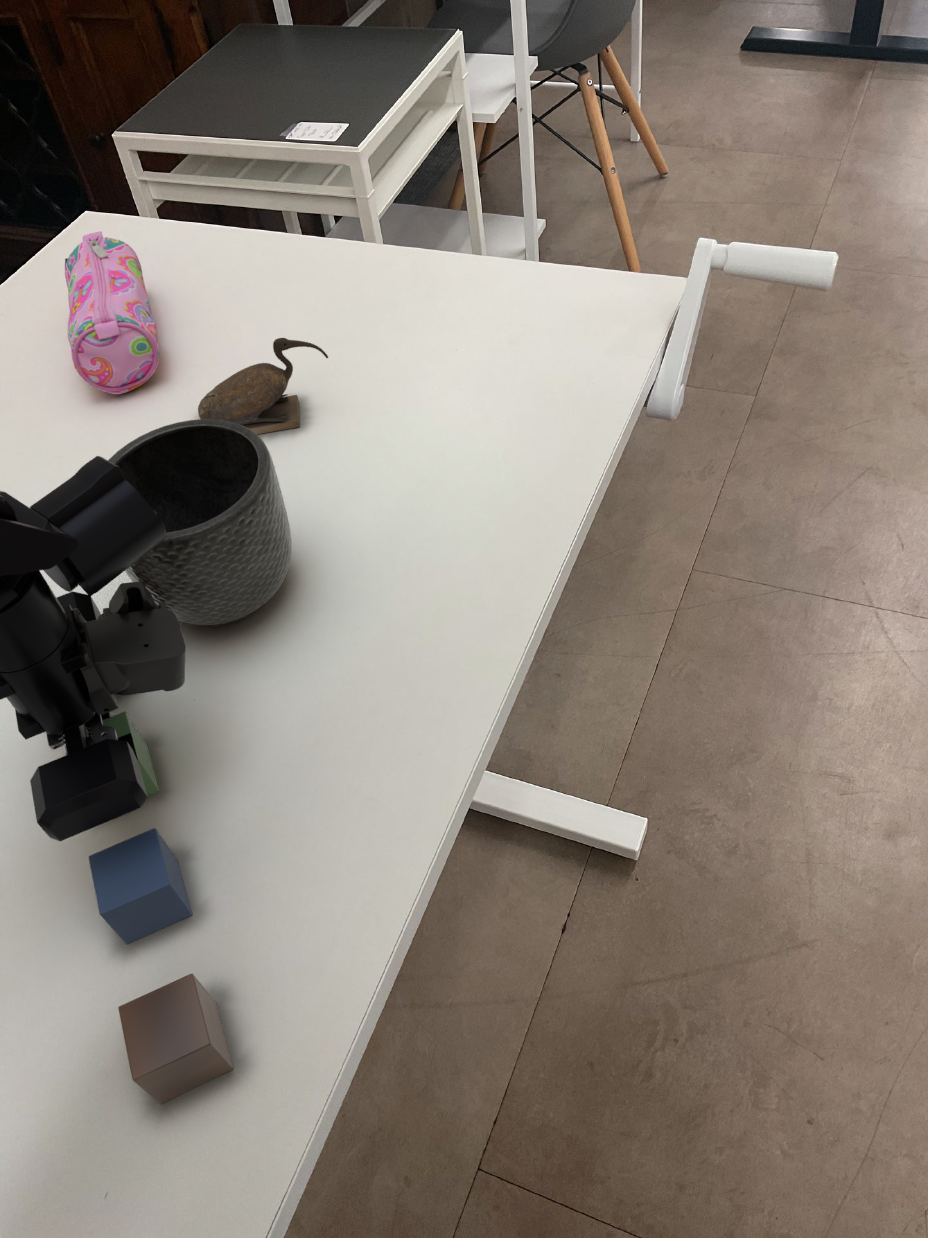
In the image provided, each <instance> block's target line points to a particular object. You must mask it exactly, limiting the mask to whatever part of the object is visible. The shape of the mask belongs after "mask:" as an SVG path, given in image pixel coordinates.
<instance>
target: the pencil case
mask: <svg viewBox="0 0 928 1238" xmlns="http://www.w3.org/2000/svg"><path fill="white" fill-rule="evenodd" d="M64 279H65V284H66V287H67V293H68V294H67V298H68V301H67V302H68V307H69V308H68V309H69V314H68V321H67V340H68V343H69V346H70V351H71V353H70V354H71V359H72V364H73V366H74V369H75V370H76V372H77V373H78V375H79V376H80V378H82V380H83V381H85V382H86V383H87V384H88V385H89V386H91V387H92V388H95V389H96V390H98V391H102V392H104V393H108V394H112V395H122V394H125V393H128V392H131V391H133V390H135V389H136V388H138V387H140V386H142V385H144V384H145V383H146V382H147V381H149V380H150V379H151V377H152V376H154V374H155V372H156V370H157V369H158V366H159V362H160V348H159V345H158V329H157V324H156V321H155V319H154V317H153V315H152V311H151V303H150V299H149V296H148V292H147V289H146V284H145V281H144V280H145V279H144V275H143V269H142V265H141V262H140V259H139V256H138V255H137V252H136V251H135V250H134V249H133V248H132V246H130V245H129V244H128V243H126V242H125V241H123V240H120V239H117V238H112V237H107V236H106V237H104V235H103V231H95V232H90V233H87V234H84V235H82V241H81V242H80V243H79V244H77V245H76V246H75V248H74V249H73V250H72V251H71V252H70V254H69V256H68V257H67V258H65V259H64Z"/></svg>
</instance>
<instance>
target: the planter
mask: <svg viewBox="0 0 928 1238" xmlns="http://www.w3.org/2000/svg"><path fill="white" fill-rule="evenodd" d="M107 460H108V461H110V462H111V463H113V464H115V465H117V466H118V467H119V468H120V470H121V472H122V474H123V476H124V478H125V479H126V480H127V481H128V482H129V483H130V484H131V485H132V486H133V487H134V488H135V489H136V490H137V491H138V492H139V493H140V494H141V496H142V497H143V498H144V499H145V500H146V502H147V503H148V504H149V506H150V507H151V509H153V510H155V511H156V512H157V513H158V514H159V515H160V517H161V519H162V521H163V523H164V526H165V529H166V539H165V540H163V541H162V542H161V543H160V544H158V545H157V546H156V547H154V548H153V549H152V550H151V551H149V552H148V553H147V554H145V555H144V556H143V557H142V558H140V559H139V560H138V561H136V562H135V563H134V564H133V565H131V566H130V567H129V568H128V569H126V570H125V571H124V572H125V573H126V575H127V576H128V578H129V579H130V581H131V582H139V581H140V582H142V583H143V585H144V586H145V587H146V589H147V590H148V591H149V593H150V594H151V595H152V597H153V600H154V602H155V603H156V604H157V605H158V606H159V602H161V601H165V604H166V607H167V609H168V610H170V611H172V612H173V613H174V614H175V615H176V618H177V621H178V622H181V623H185V624H189V625H193V626H194V625H195V626H225V625H226V626H227V625H232V624H235V623H239V622H241V621H244V620H245V619H247V618H249V617H251V616H253V615H254V614H256V613H257V612H259V611H260V610H261V609H262V608H263V607H264V606H265V605H266V604H267V603H268V602H269V601H270V600H271V599H272V598H273V597H274V595H275V594H276V593H277V592H278V591H279V590H280V588H281V586H282V584H283V583H284V581H285V579H286V578H287V574H288V571H289V569H290V565H291V561H292V552H293V551H292V549H293V547H292V543H293V542H292V534H291V533H292V532H291V526H290V521H289V516H288V513H287V508H286V504H285V501H284V495H283V493H282V489H281V486H280V485H281V484H280V481H279V478H278V474H277V471H276V467H275V464H274V461H273V457H272V455H271V452H270V450H269V448H268V447H267V445H266V443H265V442H264V440H263V439H262V438H261V437H260V436H259V434H256V433H254V432H253V431H251V430H250V429H249V428H246V427H244V426H242V425H240V424H237V423H233V422H230V421H223V420H216V419H200V418H199V419H190V420H184V421H178V422H174V423H170V424H167V425H164V426H161V427H159V428H155V429H153V430H151V431H149V432H146V433H144V434H142V435H140V436H138V437H137V438H135V439H133V440H132V441H129V442H128V443H127V444H125V445H124V446H123V447H121V448H120V449H118V450H117V451H116V452H115V453H114V454H113V455H111V457H110V458H109V459H107Z"/></svg>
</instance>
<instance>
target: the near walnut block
mask: <svg viewBox="0 0 928 1238" xmlns="http://www.w3.org/2000/svg"><path fill="white" fill-rule="evenodd" d="M117 1009H118V1015H119V1019H120V1023H121V1030H122V1034H123V1041H124V1044H125V1049H126V1054H127V1059H128V1064H129V1069H130V1074H131V1080H132V1082H134V1083H135V1084H136V1085H137V1086H139V1087H140V1089H142V1090H143V1091H144V1092H145V1093H147V1094H148V1095H149V1096H150V1097H151V1098H153V1099H154V1100H156V1102H157V1103H159V1104H160V1105H162V1104H164V1103H166V1102H168V1101H170V1100H173V1099H174V1098H176V1097H179V1096H180V1095H183V1094H185V1093H187V1092H190V1091H191V1090H193V1089H195V1088H197V1087H199V1086H201V1085H204V1084H206V1083H207V1082H210V1081H212V1080H214V1079H216V1078H218V1077H220V1076H222V1075H224V1074H227V1073H228V1072H231V1071H233V1070H234V1065H233V1061H232V1058H231V1053H230V1050H229V1047H228V1043H227V1039H226V1036H225V1032H224V1028H223V1024H222V1021H221V1017H220V1013H219V1009H218V1005H217V1002H216V1000H215V999H214V998H213V996H212V995H211V994H210V993H209V991H208V990H207V989H206V987H204V985H203V984H202V983H201V982H200V981H199V979H198V978H197V977H196V975H194V973H190V974H187V975H185V976H183V977H181V978H178V979H176V980H174V981H172V982H169V983H167V984H165V985H163V986H160V987H159V988H156V989H154V990H152V991H150V992H148V993H145V994H143V995H140V996H139V997H136V998H135V999H133V1000H130V1001H128V1002H126V1003H123V1004H121V1005H119V1006H118V1007H117Z"/></svg>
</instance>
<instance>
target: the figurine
mask: <svg viewBox="0 0 928 1238" xmlns="http://www.w3.org/2000/svg"><path fill="white" fill-rule="evenodd" d="M303 347H304V348H312V349H315V350H317V351H318V352H320V353H321V354H322V355H323V356H324V357H325V358H326V359H329V356H328V354H327V353H326V351H324V350H323V349H322V348H321V347H319V346H318V345H316V344H314V343H311V342H308V341H303V340H297V339H296V340H295V339H289V338H286V337H278V338H275V339H274V341H273V342H272V349H273V353H274V355H275V357H276V358H277V359H278V360H279V361H281V363H282V364H283V365H284V366H285V369H284V368H281V367H279V366H276V365H274V364H271V363H269V362H261V363H260V362H259V363H256V364H253V365H250V366H246V367H245V368H243V369H241V370H239V371H237V372H235V373H233V374H232V375H230V376H229V377H227V378H226V379H224V380H223V381H221V382H220V383H218V384H217V385H215V386H214V387H213V389H212V390H210V391H208V392H207V393H206V394H205V396H204V397H203V398H202V399H201V400H200V402H199V404H198V406H197V413H198V417H199V419H216V420H223V421H230V422H233V423H237V424H240V425H242V426H244V427H246V428H249V429H250V430H251V431H253V432H254V433H256V434H257V435H261V434H266V433H273V432H277V431H278V432H279V431H285V430H290V429H296V428H300V427H301V420H300V405H299V403H300V401H299V397H298V395H297V394H292V395H288V394H284V393H285V392H286V391H287V388H288V385H289V380H290V379H291V377H292V375H293V371H294V367H293V363H292V362H291V361H290V360H289V358H287V357H286V356H285V355H284V353H283V352H284V351H287V350H289V349H294V348H303Z"/></svg>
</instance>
